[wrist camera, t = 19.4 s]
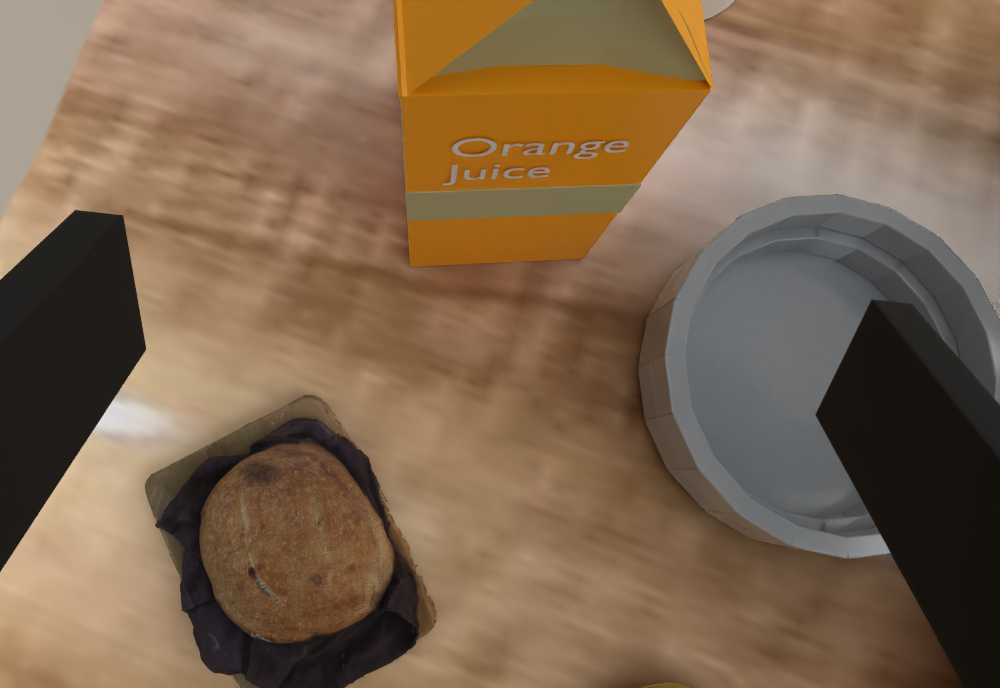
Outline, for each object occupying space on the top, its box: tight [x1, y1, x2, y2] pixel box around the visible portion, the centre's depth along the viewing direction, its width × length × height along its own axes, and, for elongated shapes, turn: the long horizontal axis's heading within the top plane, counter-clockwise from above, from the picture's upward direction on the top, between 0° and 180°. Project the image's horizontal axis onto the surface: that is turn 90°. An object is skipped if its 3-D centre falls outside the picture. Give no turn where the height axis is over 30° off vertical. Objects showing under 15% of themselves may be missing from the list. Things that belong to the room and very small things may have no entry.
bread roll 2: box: [145, 395, 436, 688], centre depth 27 cm, size 11×8×4 cm
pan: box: [638, 194, 1000, 559], centre depth 30 cm, size 14×14×4 cm
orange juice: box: [390, 0, 714, 267], centre depth 23 cm, size 8×9×20 cm
